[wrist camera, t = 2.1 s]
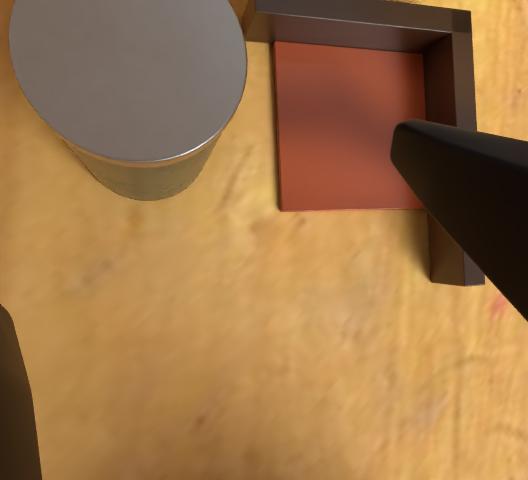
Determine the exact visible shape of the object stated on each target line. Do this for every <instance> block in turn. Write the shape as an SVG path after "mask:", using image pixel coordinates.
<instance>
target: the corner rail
mask: <svg viewBox="0 0 528 480" xmlns="http://www.w3.org/2000/svg"><path fill="white" fill-rule="evenodd" d="M242 23H243V34H244V39H245V41H253V42H264V43H273V52H274V74H275V96H276V118H277V141H278V163H279V185H280V207H281V212H303V211H346V210H390V209H425V207H424V206H423V205H422V204H421V202H420V201H419V200H418V198H417V197H416V195H415V194H414V193H413V191H412V190H411V189H410V187H409V186H408V184H407V183H406V182H405V180H404V179H403V178H402V176H401V175H400V173H399V172H398V171H397V169H396V168H395V167H394V165H393V164H392V162H391V159H390V149H391V143H392V138H393V132H394V128H395V127H396V125H397V124H399V123H401V122H403V121H406V120H409V119H419V120H424V121H429V122H434V123H439V124H444V125H449V126H453V127H458V128H463V129H468V130H473V131H477V121H476V102H475V82H474V63H473V44H472V25H471V11H467V10H459V9H451V8H443V7H435V6H427V5H418V4H410V3H402V2H394V1H386V0H248V2H247V5H246V8H245V11H244V13H243V16H242ZM428 225H429V245H430V265H431V282H432V283H439V284H448V285H456V286H477V285H485V275H484V273H483V272H482V271H481V270H480V269H479V268H478V267H477V265H476V264H475V263H474V262H473V261H472V260H471V259H470V258H469V257H468V256H467V254H466V253H465V252H464V251H463V250H462V249H461V248H460V247H459V246H458V245H457V243H456V242H455V241H454V240H453V239H452V238H451V237H450V236H449V235H448V233H447V232H446V231H445V230H444V229H443V228H442V227H441V226H440V225H439V224H438V222H437V221H436V220H435V219H434V218H433V217H432V216H431V215H430V214H429V212H428Z"/></svg>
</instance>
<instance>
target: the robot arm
mask: <svg viewBox="0 0 528 480" xmlns="http://www.w3.org/2000/svg"><path fill="white" fill-rule="evenodd" d="M390 159H391V162H392V164H393V165H394V167H395V168H396V169H397V171H398V172H399V173H400V175H401V176H402V178H403V179H404V180H405V182H406V183H407V184H408V186H409V187H410V189H411V190H412V191H413V193H414V194H415V195H416V197H417V198H418V200H419V201H420V202H421V204H422V205H423V206H424V207H425V209H426V210H427V211H428V212H429V214H430V215H431V216H432V217H433V218H434V219H435V220H436V221H437V222H438V224H439V225H440V226H441V227H442V228H443V229H444V230H445V231H446V232H447V233H448V235H449V236H450V237H451V238H452V239H453V240H454V241H455V242H456V243H457V245H458V246H459V247H460V248H461V249H462V250H463V251H464V252H465V253H466V254H467V256H468V257H469V258H470V259H471V260H472V261H473V262H474V263H475V264H476V265H477V267H478V268H479V269H480V270H481V271H482V272H483V273H484V274H485V275H486V276H487V278H488V279H489V280H490V281H491V282H492V283H493V284H494V285H495V286H496V287H497V289H498V290H499V291H500V292H501V293H502V294H503V295H504V296H505V297H506V298H507V300H508V301H509V302H510V303H511V304H512V305H513V306H514V307H515V308H516V309H517V311H518V312H519V313H520V314H521V315H522V316H523V317H524V318H525V319H526V320H527V322H528V142H527V141H522V140H518V139H513V138H508V137H503V136H498V135H493V134H488V133H483V132H478V131H473V130H468V129H463V128H458V127H453V126H449V125H444V124H439V123H434V122H429V121H424V120H419V119H409V120H406V121H403V122H401V123H399V124H397V125H396V127H395V128H394V132H393V138H392V143H391V149H390ZM0 480H42V473H41V465H40V457H39V448H38V440H37V432H36V424H35V415H34V407H33V400H32V393H31V388H30V384H29V380H28V376H27V372H26V369H25V365H24V361H23V357H22V354H21V350H20V346H19V342H18V338H17V335H16V331H15V327H14V323H13V320H12V318H11V316H10V314H9V313H8V311H7V310H6V309H5V308H4V307H3V306H2V305H1V304H0Z"/></svg>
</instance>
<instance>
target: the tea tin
mask: <svg viewBox="0 0 528 480" xmlns="http://www.w3.org/2000/svg"><path fill="white" fill-rule="evenodd" d="M9 49H10V57H11V61H12V65H13V69H14V73H15V75H16V78H17V80H18V83H19V85H20V87H21V89H22V91H23V93H24V94H25V96H26V98H27V100H28V101H29V103H30V104H31V105H32V107H33V108H34V109H35V111H36V112H37V113H38V115H39V116H40V117H41V118H42V119H43V120H44V122H45V123H46V124H47V125H48V126H49V127H50V128H51V129H52V130H53V131H54V132H55V133H56V134H57V135H58V136H60V137H61V138H62V139H63V140H64V142H65V143H66V144H67V145H68V146H69V147H70V149H71V150H72V151H73V152H74V153H75V154H76V156H77V157H78V158H79V159H80V160H81V161H82V162H83V164H84V165H85V166H86V167H87V168H88V169H89V171H90V172H91V173H92V174H93V175H94V176H95V177H96V178H97V179H98V180H99V182H100V183H102V184H103V185H104V186H105V187H107V188H108V189H110V190H111V191H113V192H115V193H117V194H119V195H121V196H124V197H127V198H130V199H135V200H142V201H153V200H160V199H165V198H168V197H171V196H174V195H176V194H178V193H180V192H181V191H183V190H184V189H186V188H187V187H188V186H189V185H190V184H191V183H192V182H193V181H194V180H195V179H196V178H197V177H198V175H199V173H200V172H201V170H202V168H203V167H204V165H205V163H206V161H207V159H208V157H209V156H210V154H211V152H212V150H213V148H214V146H215V144H216V143H217V141H218V139H219V137H220V135H221V133H222V131H223V130H224V129H225V128H226V126H227V125H228V123H229V122H230V120H231V118H232V117H233V115H234V113H235V111H236V109H237V107H238V105H239V103H240V101H241V98H242V95H243V91H244V88H245V83H246V77H247V50H246V43H245V39H244V34H243V31H242V28H241V25H240V22H239V20H238V17H237V15H236V13H235V11H234V9H233V7H232V5H231V3H230V2H229V0H15V3H14V6H13V8H12V13H11V18H10V23H9Z"/></svg>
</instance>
